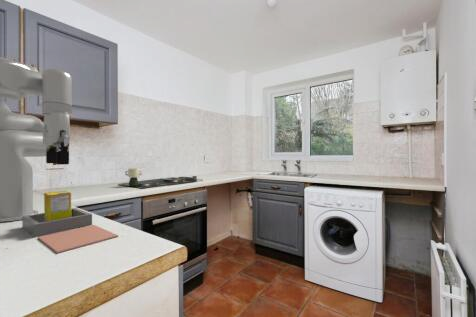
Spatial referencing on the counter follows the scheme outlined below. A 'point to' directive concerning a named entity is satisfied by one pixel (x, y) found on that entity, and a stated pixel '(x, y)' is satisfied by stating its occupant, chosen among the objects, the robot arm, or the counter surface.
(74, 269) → the counter surface
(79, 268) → the counter surface
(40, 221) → the tray
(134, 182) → the character mug
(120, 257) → the counter surface
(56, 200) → the supplement box
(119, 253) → the counter surface
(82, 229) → the mat
